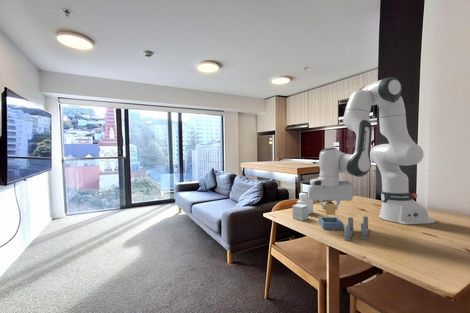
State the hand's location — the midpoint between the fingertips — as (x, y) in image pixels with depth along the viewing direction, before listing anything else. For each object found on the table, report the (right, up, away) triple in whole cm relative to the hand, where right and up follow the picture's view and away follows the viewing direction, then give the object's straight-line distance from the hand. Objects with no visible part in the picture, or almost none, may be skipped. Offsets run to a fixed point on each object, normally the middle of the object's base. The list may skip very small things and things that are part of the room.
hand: (329, 209), depth 106 cm
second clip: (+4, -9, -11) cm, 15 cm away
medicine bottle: (-4, -8, +24) cm, 25 cm away
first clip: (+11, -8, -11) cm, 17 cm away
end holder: (+1, -8, 0) cm, 8 cm away
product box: (-10, -9, +13) cm, 19 cm away
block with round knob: (0, -2, 0) cm, 2 cm away
